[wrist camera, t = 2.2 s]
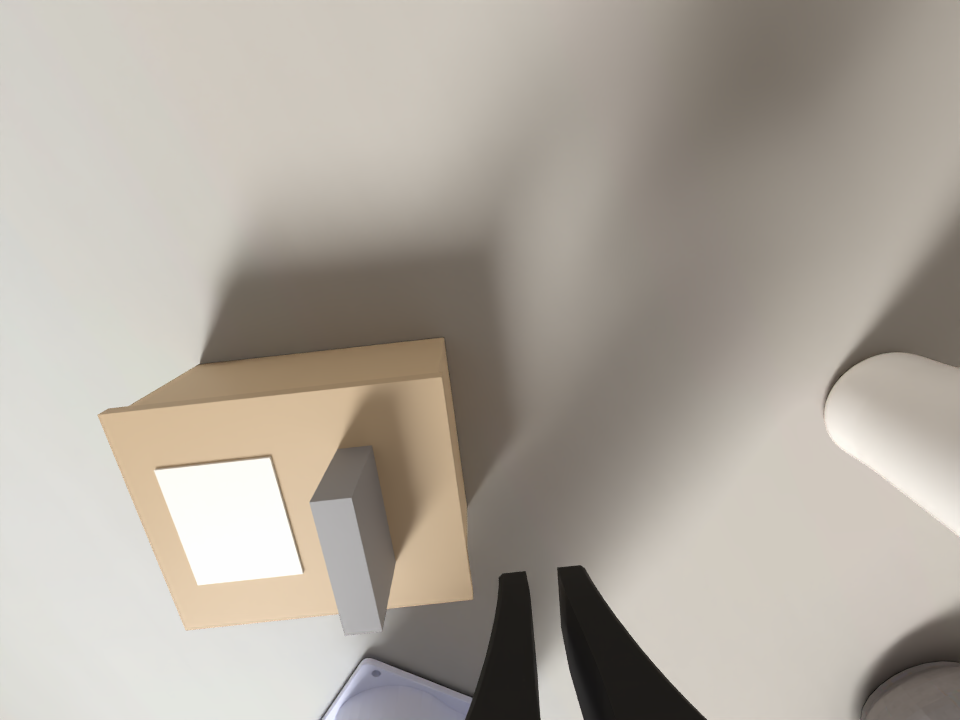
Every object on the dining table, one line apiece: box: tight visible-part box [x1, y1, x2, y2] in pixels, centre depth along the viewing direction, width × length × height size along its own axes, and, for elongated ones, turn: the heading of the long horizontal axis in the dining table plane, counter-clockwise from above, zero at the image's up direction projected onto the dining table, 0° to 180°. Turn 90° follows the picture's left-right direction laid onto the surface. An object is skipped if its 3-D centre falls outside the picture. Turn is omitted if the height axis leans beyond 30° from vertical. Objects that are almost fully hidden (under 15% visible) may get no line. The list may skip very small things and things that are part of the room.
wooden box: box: [130, 337, 467, 543], centre depth 20 cm, size 11×9×5 cm
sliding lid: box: [98, 372, 473, 636], centre depth 15 cm, size 11×9×4 cm
